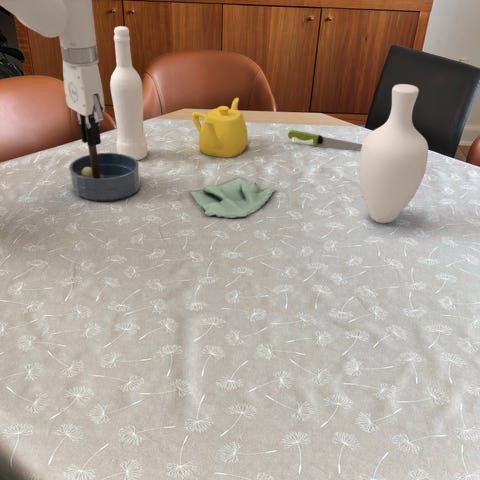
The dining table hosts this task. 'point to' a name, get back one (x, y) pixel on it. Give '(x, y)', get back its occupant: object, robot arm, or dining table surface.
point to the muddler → (94, 160)
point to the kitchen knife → (324, 141)
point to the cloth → (232, 199)
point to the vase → (393, 159)
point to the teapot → (222, 131)
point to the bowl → (106, 177)
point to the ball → (86, 172)
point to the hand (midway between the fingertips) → (91, 142)
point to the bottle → (127, 100)
